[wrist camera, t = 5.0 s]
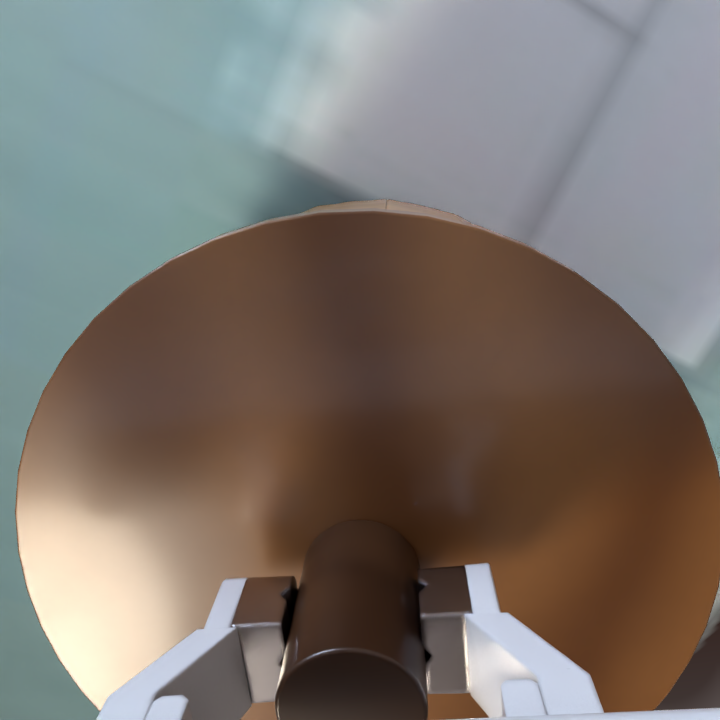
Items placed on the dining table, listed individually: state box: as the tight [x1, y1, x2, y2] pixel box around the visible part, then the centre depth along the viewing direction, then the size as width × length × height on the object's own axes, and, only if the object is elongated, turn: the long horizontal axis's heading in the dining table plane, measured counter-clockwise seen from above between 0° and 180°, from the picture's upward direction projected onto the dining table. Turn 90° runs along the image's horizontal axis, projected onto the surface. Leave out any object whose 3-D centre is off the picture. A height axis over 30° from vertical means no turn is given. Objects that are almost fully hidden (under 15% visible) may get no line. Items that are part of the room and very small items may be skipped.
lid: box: [15, 208, 720, 720], centre depth 14 cm, size 16×16×5 cm
